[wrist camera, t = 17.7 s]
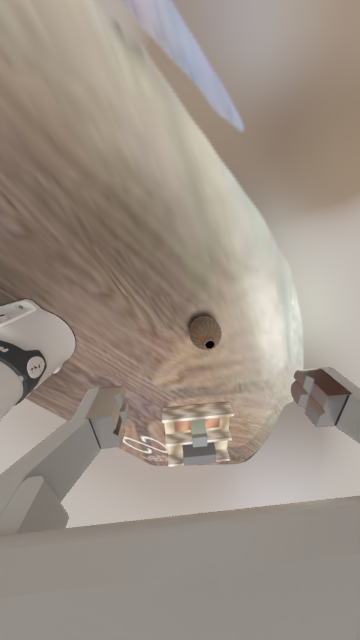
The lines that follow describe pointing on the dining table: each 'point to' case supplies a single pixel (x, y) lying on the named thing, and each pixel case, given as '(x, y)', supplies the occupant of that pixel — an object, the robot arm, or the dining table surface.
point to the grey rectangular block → (198, 433)
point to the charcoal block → (199, 454)
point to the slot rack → (180, 428)
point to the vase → (205, 333)
